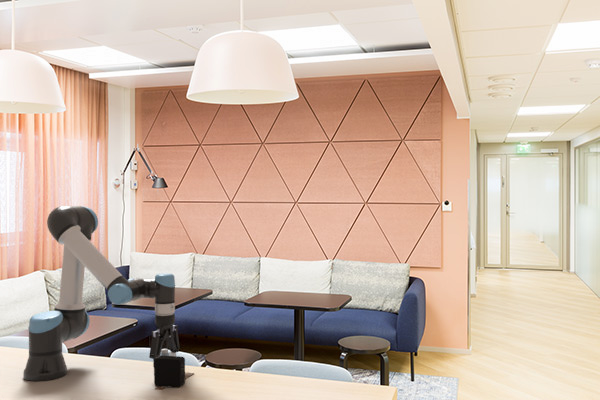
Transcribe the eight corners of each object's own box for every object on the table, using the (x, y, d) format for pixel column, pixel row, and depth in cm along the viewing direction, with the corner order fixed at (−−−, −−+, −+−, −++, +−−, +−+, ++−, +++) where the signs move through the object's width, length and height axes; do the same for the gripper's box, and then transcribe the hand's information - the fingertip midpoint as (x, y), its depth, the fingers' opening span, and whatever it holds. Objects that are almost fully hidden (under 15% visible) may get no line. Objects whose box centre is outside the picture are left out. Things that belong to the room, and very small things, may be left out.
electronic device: (179, 388, 197) (180, 359, 197) (154, 386, 199) (154, 358, 200) (184, 384, 201) (185, 356, 201) (159, 382, 203) (159, 355, 204)
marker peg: (157, 373, 215) (157, 350, 215) (163, 371, 218) (163, 348, 218) (165, 374, 213) (165, 351, 213) (171, 372, 216) (171, 348, 217)
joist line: (154, 388, 196) (154, 388, 196) (187, 373, 215) (187, 372, 215) (161, 390, 195) (161, 389, 195) (194, 374, 214) (194, 373, 214)
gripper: (155, 319, 205) (155, 381, 204) (188, 309, 225) (188, 366, 224) (139, 318, 207) (139, 379, 207) (173, 308, 227) (173, 364, 227)
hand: (164, 372), depth 215 cm, fingers open, 9 cm apart
